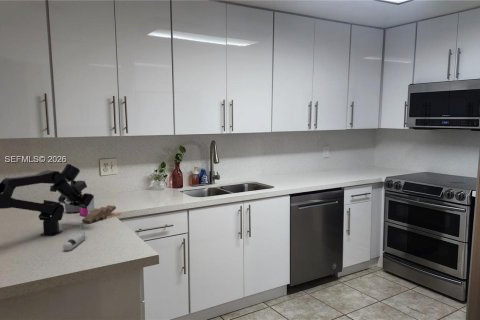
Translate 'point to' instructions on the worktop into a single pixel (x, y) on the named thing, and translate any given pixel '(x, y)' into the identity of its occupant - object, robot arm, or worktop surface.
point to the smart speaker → (71, 207)
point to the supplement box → (89, 208)
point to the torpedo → (74, 241)
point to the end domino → (113, 214)
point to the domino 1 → (92, 215)
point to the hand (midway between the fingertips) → (86, 208)
